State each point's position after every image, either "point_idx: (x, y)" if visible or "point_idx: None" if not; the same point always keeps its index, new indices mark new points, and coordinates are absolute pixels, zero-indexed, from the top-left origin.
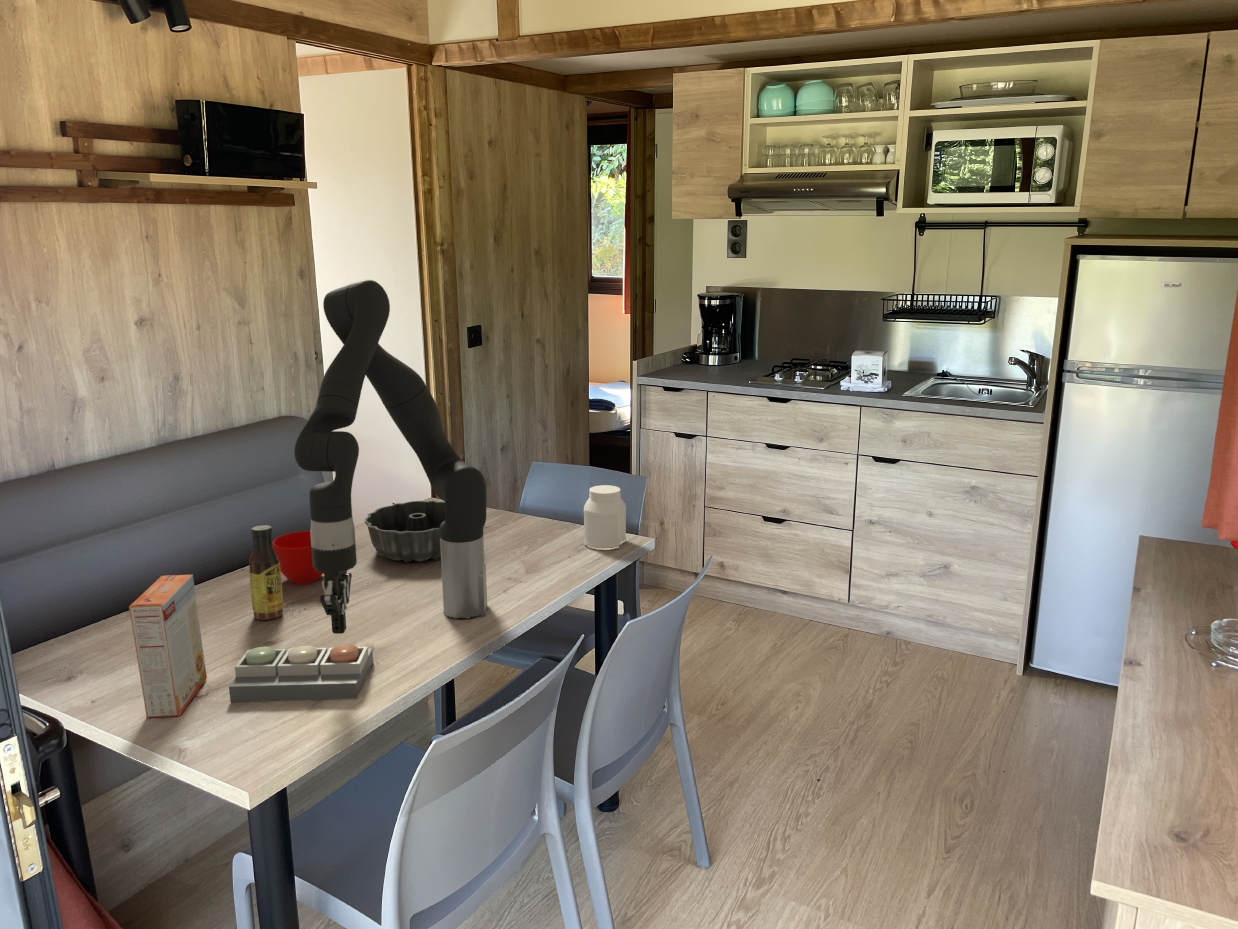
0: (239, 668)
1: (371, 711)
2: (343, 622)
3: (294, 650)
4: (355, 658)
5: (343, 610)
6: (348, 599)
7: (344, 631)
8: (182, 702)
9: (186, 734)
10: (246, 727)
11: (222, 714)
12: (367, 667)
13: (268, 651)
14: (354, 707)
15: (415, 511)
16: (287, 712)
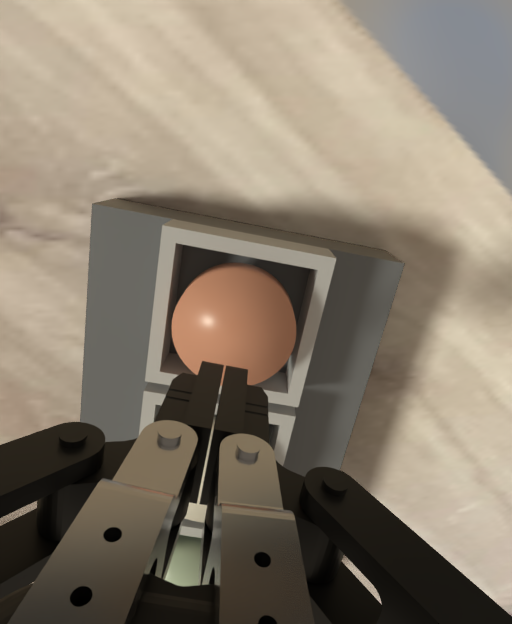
0: None
1: (496, 200)
2: (244, 401)
3: (189, 504)
4: (270, 276)
5: (252, 456)
6: (72, 443)
7: (244, 369)
8: None
9: None
10: (442, 517)
11: (352, 568)
12: (207, 220)
13: (180, 575)
14: (443, 257)
15: None
16: (399, 438)
